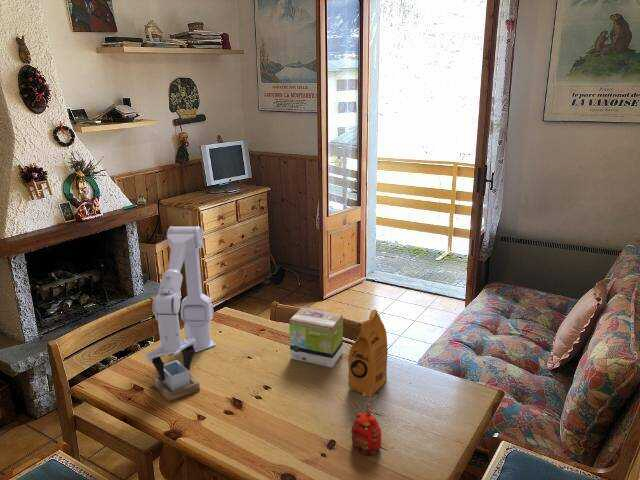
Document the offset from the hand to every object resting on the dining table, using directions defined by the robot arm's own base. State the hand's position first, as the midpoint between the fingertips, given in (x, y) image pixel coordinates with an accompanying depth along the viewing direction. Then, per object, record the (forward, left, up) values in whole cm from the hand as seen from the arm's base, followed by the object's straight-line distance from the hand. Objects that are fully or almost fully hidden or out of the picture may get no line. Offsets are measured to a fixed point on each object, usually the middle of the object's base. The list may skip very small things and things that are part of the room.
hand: (174, 374), depth 154 cm
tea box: (+13, +43, -5) cm, 45 cm away
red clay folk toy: (+55, +26, -5) cm, 61 cm away
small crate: (0, 0, -4) cm, 4 cm away
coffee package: (+35, +45, -5) cm, 57 cm away
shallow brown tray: (0, 0, -4) cm, 4 cm away
